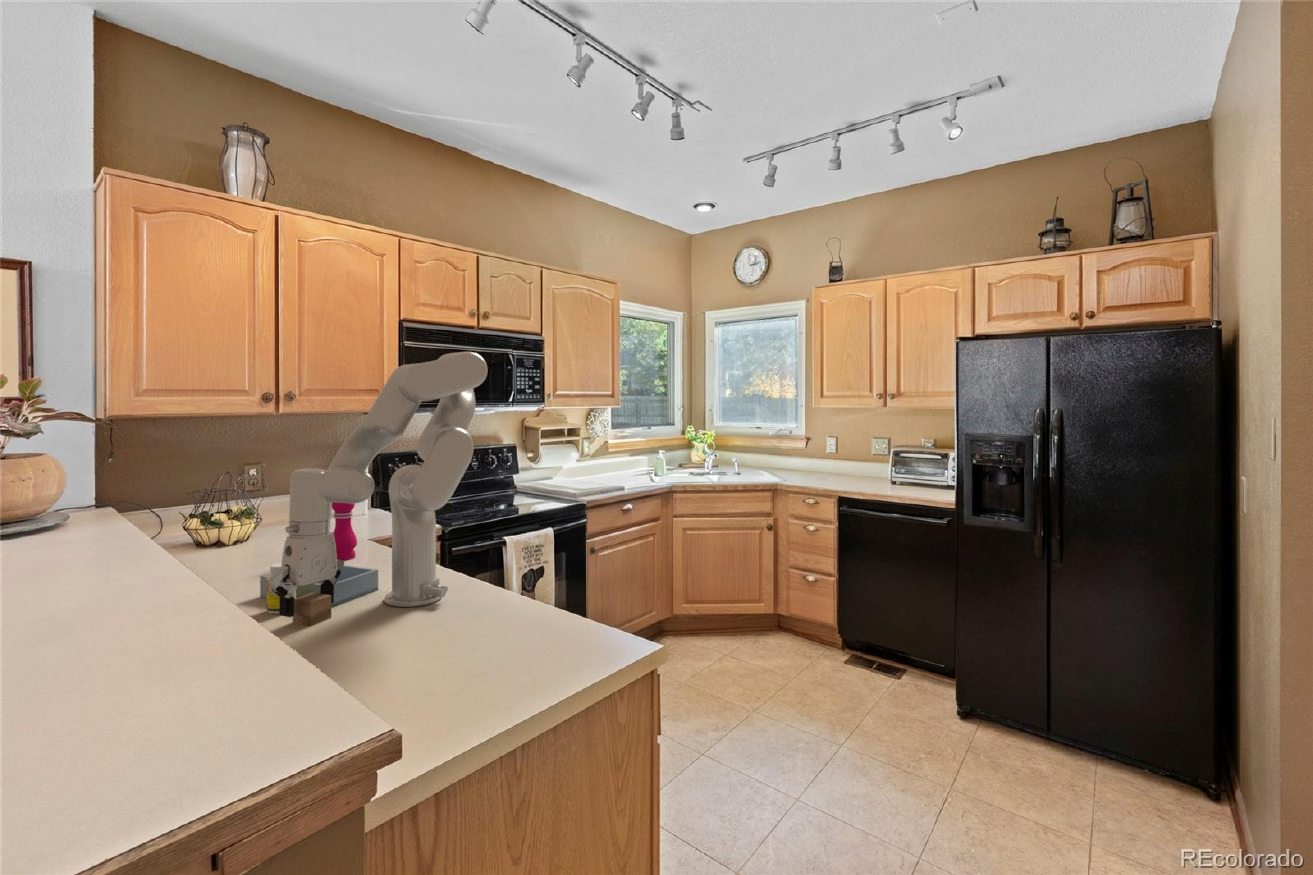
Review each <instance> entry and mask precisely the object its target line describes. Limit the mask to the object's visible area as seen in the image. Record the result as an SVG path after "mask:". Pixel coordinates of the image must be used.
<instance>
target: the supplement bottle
mask: <svg viewBox="0 0 1313 875" xmlns="http://www.w3.org/2000/svg"><path fill="white" fill-rule="evenodd" d="M281 565H282V562H276V563H272V564H271V565H270V568H269V573H270V574H269V573H267V574H268V575H267V577H266V593H267V598H266V610H267V612H268V613H269V614H274V615H277V614H279V603H280V597H278V596H277V595H276V594H275V593H274V592H273V591H272V588H271V586H270V584H269V582H268V579H269V578H270V577H272V576H273V575H274V574H275V573H277V572H278V571H279V570H280V569H281ZM282 584H283V583H282V581H280V585H282ZM289 587H290V586H289ZM289 587H288V588H287V590H288V589H289ZM291 597H294V599H295V598H296V590H295V591H294V593H293V595H292V596H291ZM279 615H280V614H279Z"/></svg>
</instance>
